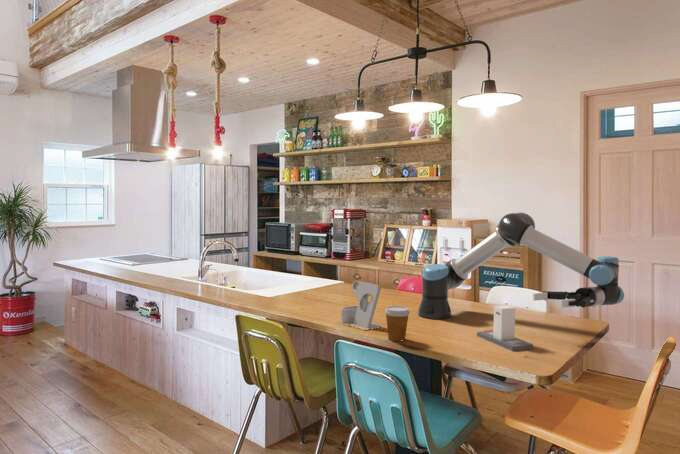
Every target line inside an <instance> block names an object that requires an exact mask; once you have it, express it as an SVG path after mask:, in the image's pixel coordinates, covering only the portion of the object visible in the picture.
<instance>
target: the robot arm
mask: <svg viewBox="0 0 680 454" xmlns="http://www.w3.org/2000/svg"><path fill="white" fill-rule="evenodd" d="M516 245H518V246H521V247H522V246H525V247H528V248H529V249H531V250H533V251H535V252H537V253H539V254H542V256H545V257H547V258H549V259H551V260H553V261H555V262H557V263H558V264H561V265H563V266H565V267H566V268H567V269H570V270H572V271H573V272H576V273H578V274H580V275H582V276H584V277H585V278H587V279H589V280H590V281H591V282H592V284H595V285H596V286H587V287H586V286H585V287H579V288H577V289H575V291H571V292H568V291H545V290H544V291H542V292H535V293H532V300H533V301H534V302H536V301H546V302H547V300H559V308H561V309H563V308H571V307H573V308H575V307H577V308H578V307H581V308H583V309H584V308H586V307H588V308H589V307H592V308H595V307H596V306H597V307H598V306H612V305H618V304H620V303H622V302H623V300H624V298H625V292H624V290H623V289H622V287H621V286H619V269H620V263H619V262H620V261H619V258H618V257H616V256H611V255H610V256H609V255H602V256H601V255H600V256H598V257H597V259H595V258H593V257H591V256H589V255H587V254H585V253H582V252H580V251H579V250H578V249H575V248H572V247H571V246H568V245H566V244H565V243H562V242H561V241H560V240H559V241H558V240H557V239H554V238H552V237H550V236H548V235H547V234H545V233H543V232H540V231H539V230H537V229H536V223H535V220H534V218H532V216H530V215H529V214H527V213H525V212H514V213H513V212H512V213H511V212H510V213H508V214H505V215H504V216H503V217H501V219H500V221H499V223H498V224H497V225H496V228H495V231H493V232H492V233H491V234H490V235H488V236H487V237H485V238H484V239H483V240H482V241H480V242H478V244H476V245H475V246H473V247H471V248H470V249H469V250H468V251H467V252H465V253H463V254H462V255H461V256H460V257H458V258H452V259H450V260H449V261H448V262H446V263H444V264H441V263H434V264H427V265H426V266H424V267H423V270H422V274H421V276H422V285H421V286H422V287H421V289H422V290H421V291H422V294H421V295H422V297H421V301H420V304H419V307H418V309H417V314H418V316H420V317H422V318H425V319H430V320H431V319H433V320H444V319H449V318H451V317H452V310H451V306H450V304H449V299H448V297H449V296H448V294H449V291H448V290H451V289H453V290H454V289H456V288H458V287H460V285H462V283H464V281H466V280H468V277H469V274H471V273H472V272H473V271H474V270H476V269H477V268H479V267H480V266H481V265H483V264H485V263H486V262H488V261H489V260H491V258H493V257H494V256H496V255H497V254H498V253H500V252H501V251H503V250H504V249H506V248H508V247H515V246H516Z"/></svg>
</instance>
